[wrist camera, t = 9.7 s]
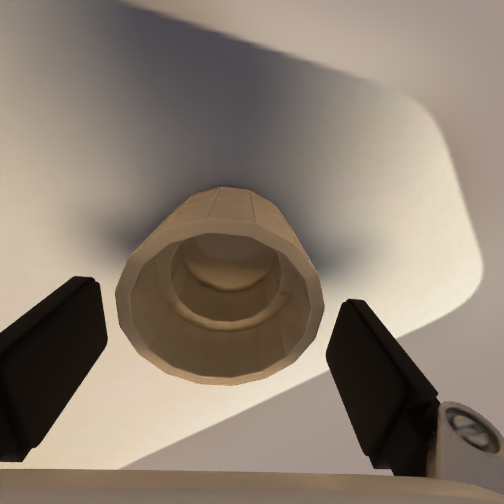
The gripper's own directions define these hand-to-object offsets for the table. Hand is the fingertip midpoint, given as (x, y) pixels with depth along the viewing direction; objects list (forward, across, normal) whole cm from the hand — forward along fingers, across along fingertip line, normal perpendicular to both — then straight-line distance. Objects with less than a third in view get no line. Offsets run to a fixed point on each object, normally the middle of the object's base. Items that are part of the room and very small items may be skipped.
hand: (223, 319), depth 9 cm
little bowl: (+6, 0, -1) cm, 6 cm away
